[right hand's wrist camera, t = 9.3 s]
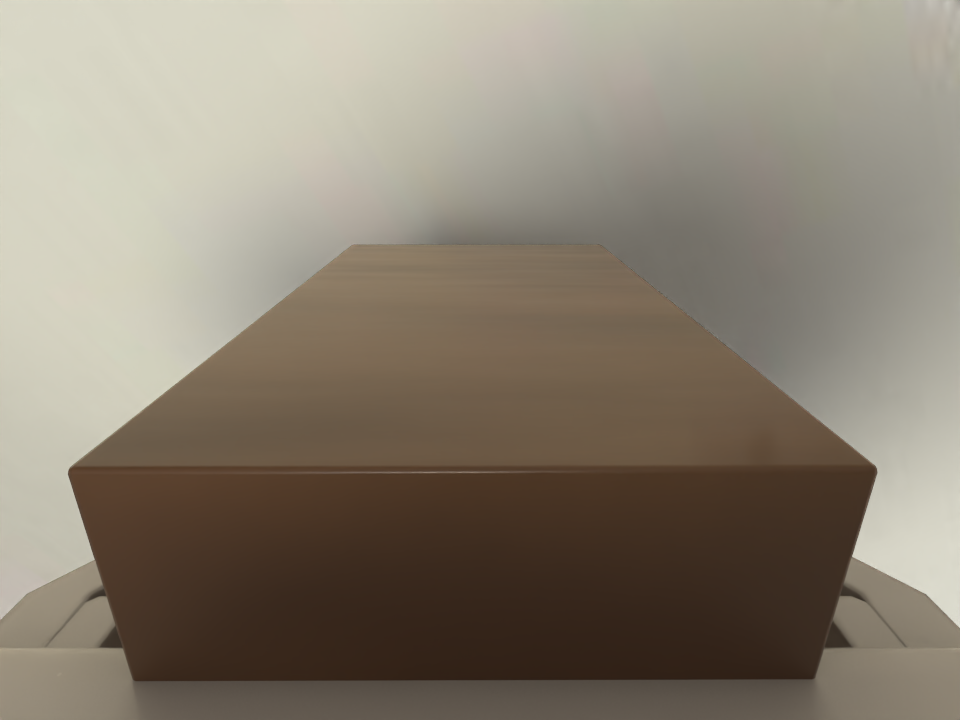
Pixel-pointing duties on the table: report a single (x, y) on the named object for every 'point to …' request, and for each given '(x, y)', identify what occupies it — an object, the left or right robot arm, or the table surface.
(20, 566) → the table surface
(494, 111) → the table surface
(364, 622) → the box
